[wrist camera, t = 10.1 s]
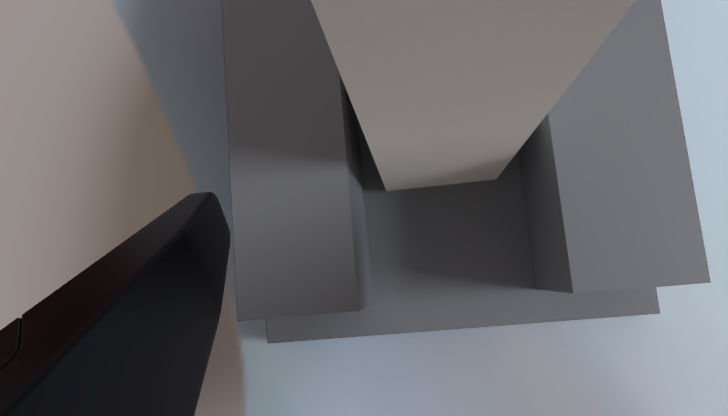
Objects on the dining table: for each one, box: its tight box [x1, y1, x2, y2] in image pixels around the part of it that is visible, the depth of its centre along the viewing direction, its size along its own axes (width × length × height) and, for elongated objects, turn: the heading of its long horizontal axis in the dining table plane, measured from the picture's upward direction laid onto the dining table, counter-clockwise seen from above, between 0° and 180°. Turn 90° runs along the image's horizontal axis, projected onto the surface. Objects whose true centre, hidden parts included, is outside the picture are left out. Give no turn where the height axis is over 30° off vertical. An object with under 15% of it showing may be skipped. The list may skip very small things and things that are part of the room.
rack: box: [222, 0, 710, 343], centre depth 16 cm, size 14×12×5 cm
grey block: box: [311, 0, 636, 191], centre depth 11 cm, size 5×4×12 cm
